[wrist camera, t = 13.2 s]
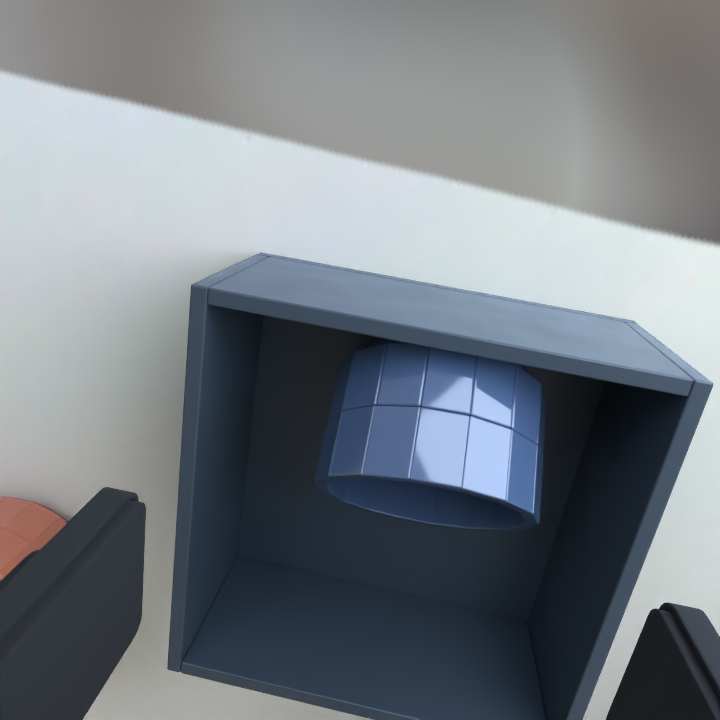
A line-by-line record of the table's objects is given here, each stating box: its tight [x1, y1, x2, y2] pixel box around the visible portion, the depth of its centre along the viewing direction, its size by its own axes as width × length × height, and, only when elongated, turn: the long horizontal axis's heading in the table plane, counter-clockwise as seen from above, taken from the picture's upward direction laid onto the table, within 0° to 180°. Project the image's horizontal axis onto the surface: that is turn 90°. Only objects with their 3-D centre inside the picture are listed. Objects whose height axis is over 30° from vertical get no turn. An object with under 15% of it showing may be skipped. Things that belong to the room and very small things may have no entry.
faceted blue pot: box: [315, 338, 547, 532], centre depth 19 cm, size 7×7×4 cm
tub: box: [167, 253, 713, 720], centre depth 21 cm, size 14×14×6 cm
